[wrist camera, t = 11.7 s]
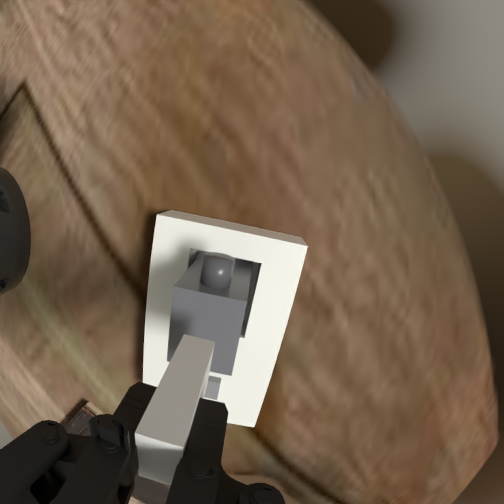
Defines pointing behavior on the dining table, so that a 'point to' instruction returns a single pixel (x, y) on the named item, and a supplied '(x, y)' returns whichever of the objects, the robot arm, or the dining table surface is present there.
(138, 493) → the hardcover book
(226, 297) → the plug
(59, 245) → the dining table surface
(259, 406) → the socket
